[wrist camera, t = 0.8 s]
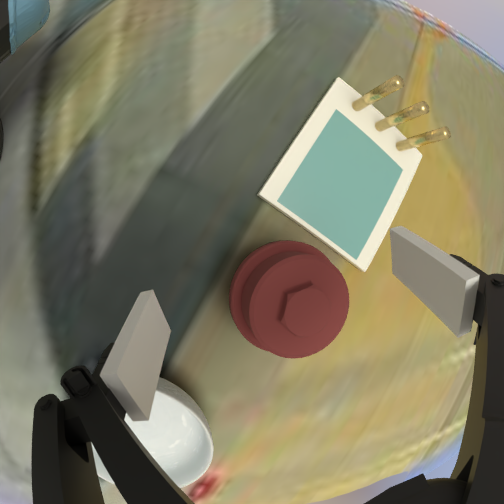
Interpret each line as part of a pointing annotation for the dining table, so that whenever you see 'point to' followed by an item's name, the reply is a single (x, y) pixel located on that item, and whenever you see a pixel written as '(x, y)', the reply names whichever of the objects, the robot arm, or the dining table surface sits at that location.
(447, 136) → the pin
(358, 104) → the pin
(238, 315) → the mechanical component
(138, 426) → the cereal bowl
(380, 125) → the pin
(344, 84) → the header board
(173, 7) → the dining table surface
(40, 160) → the dining table surface
